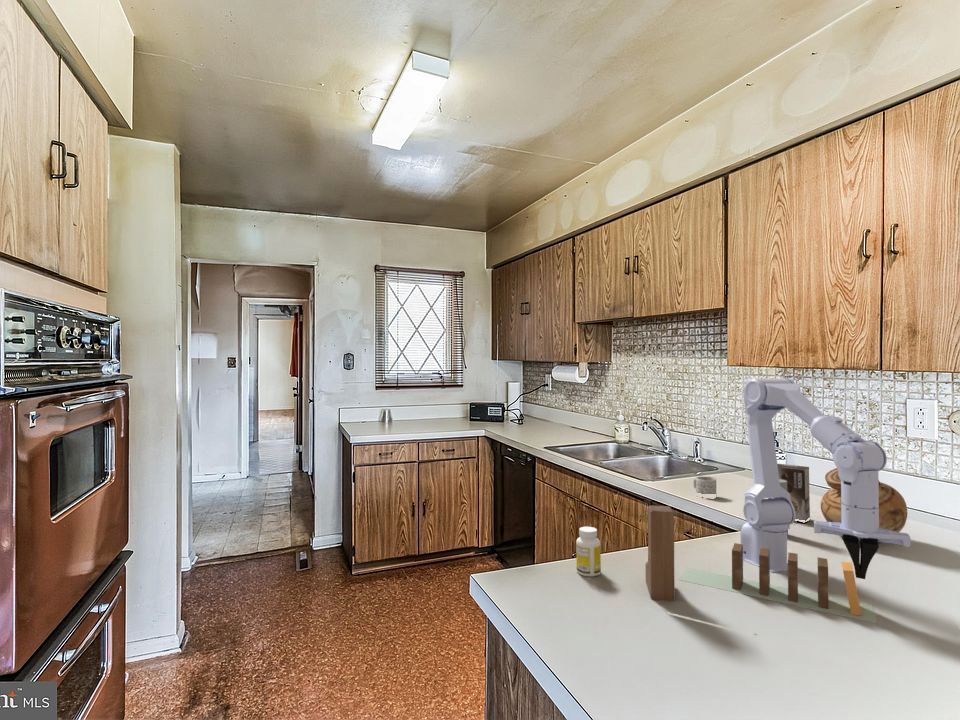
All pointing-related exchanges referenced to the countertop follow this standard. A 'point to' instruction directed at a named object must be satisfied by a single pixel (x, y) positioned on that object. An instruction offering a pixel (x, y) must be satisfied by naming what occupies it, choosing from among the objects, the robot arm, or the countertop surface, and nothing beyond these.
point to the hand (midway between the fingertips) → (860, 576)
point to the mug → (705, 485)
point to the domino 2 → (764, 571)
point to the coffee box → (797, 488)
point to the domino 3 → (793, 577)
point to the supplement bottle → (588, 552)
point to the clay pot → (889, 504)
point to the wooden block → (660, 553)
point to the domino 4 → (823, 583)
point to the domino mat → (777, 594)
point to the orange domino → (851, 588)
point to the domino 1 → (737, 566)
